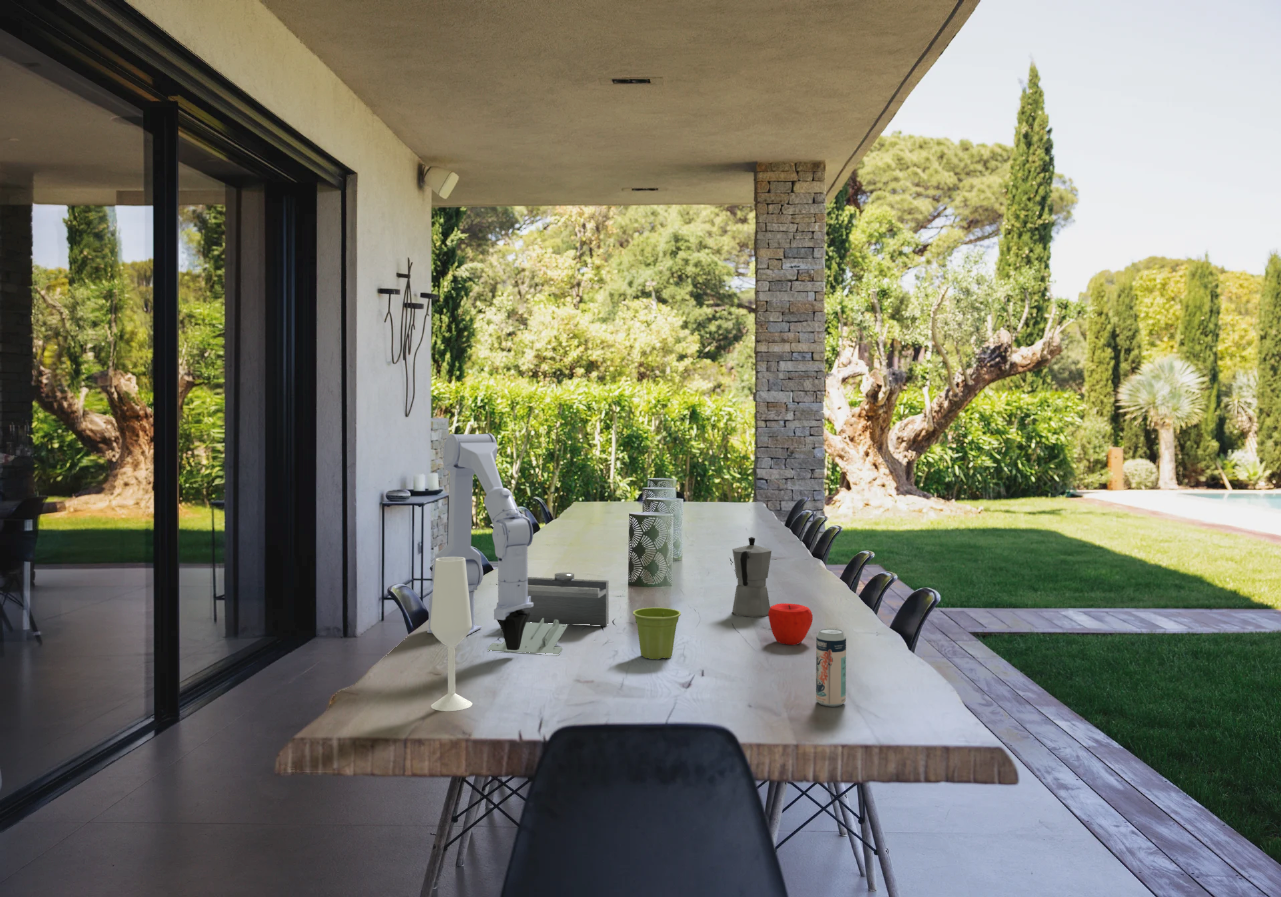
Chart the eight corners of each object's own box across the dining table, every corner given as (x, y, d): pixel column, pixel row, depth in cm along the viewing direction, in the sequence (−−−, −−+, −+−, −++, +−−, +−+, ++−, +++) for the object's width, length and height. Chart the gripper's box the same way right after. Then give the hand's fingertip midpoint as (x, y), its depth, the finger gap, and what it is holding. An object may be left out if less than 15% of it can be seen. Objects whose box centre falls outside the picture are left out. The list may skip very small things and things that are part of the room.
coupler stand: (511, 627, 225) (511, 577, 224) (526, 619, 234) (525, 570, 233) (598, 632, 220) (598, 581, 219) (610, 623, 229) (609, 574, 228)
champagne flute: (470, 710, 163) (469, 561, 162) (428, 711, 163) (426, 562, 162) (474, 698, 170) (473, 555, 169) (433, 699, 170) (432, 556, 169)
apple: (817, 640, 212) (817, 603, 212) (803, 649, 205) (803, 610, 204) (776, 636, 217) (777, 599, 216) (761, 644, 209) (761, 606, 209)
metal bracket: (509, 611, 215) (577, 615, 211) (512, 636, 217) (579, 640, 213) (483, 645, 202) (555, 650, 198) (487, 671, 204) (558, 676, 200)
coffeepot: (738, 606, 249) (739, 533, 248) (777, 609, 245) (777, 534, 245) (722, 619, 234) (722, 541, 233) (762, 621, 231) (763, 542, 230)
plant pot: (686, 652, 202) (686, 609, 202) (672, 664, 193) (672, 618, 193) (642, 649, 205) (642, 606, 205) (626, 660, 196) (626, 615, 196)
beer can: (812, 699, 169) (813, 628, 169) (840, 699, 170) (841, 627, 169) (820, 708, 165) (820, 634, 164) (849, 707, 165) (849, 634, 165)
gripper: (518, 587, 190) (519, 659, 191) (544, 574, 204) (545, 642, 205) (483, 585, 192) (483, 657, 192) (511, 573, 206) (512, 640, 206)
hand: (513, 649), depth 199 cm, fingers closed
